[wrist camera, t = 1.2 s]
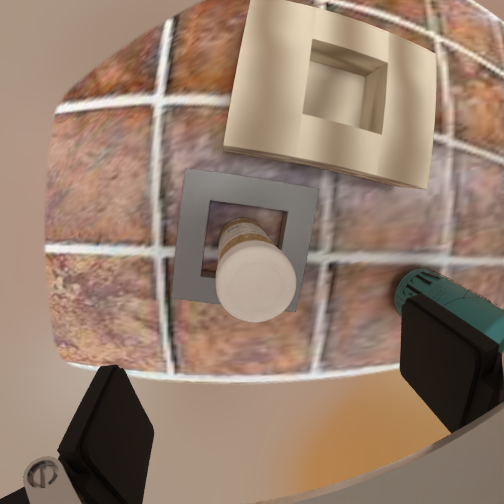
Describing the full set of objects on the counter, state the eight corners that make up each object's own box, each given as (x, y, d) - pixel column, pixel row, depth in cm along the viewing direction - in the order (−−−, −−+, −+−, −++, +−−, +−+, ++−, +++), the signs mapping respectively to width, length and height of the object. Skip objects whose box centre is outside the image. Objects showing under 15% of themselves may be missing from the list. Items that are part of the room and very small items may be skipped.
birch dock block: (405, 68, 27) (435, 54, 21) (394, 186, 30) (427, 189, 24) (246, 24, 25) (252, -6, 19) (223, 151, 28) (223, 145, 22)
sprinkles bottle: (231, 270, 31) (237, 337, 18) (210, 229, 30) (200, 269, 17) (273, 250, 31) (309, 304, 18) (254, 208, 29) (278, 232, 16)
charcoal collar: (313, 187, 30) (319, 188, 28) (291, 304, 32) (295, 312, 30) (188, 168, 28) (185, 168, 26) (174, 290, 31) (171, 298, 29)
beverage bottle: (411, 321, 34) (518, 415, 15) (375, 302, 33) (490, 409, 14) (438, 275, 33) (561, 346, 14) (403, 252, 32) (543, 324, 13)
